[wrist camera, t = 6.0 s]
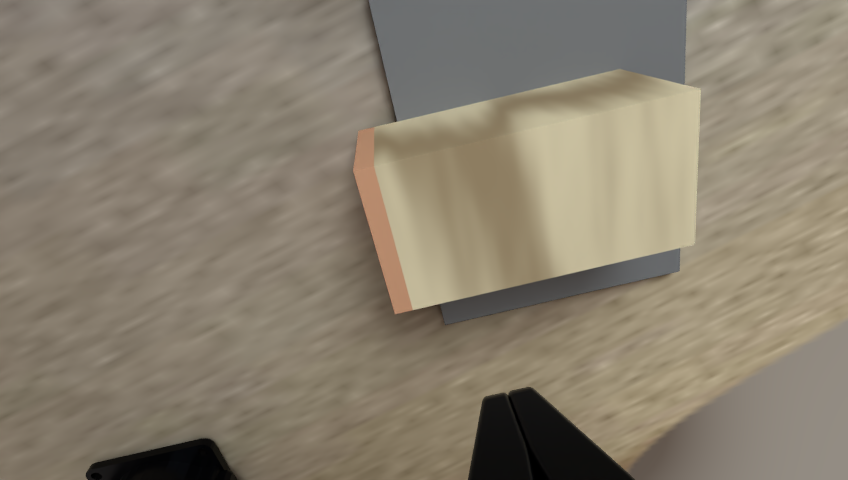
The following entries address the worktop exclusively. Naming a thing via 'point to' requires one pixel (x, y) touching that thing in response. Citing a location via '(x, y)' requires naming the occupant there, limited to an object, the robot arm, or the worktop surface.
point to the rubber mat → (526, 85)
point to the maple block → (530, 186)
